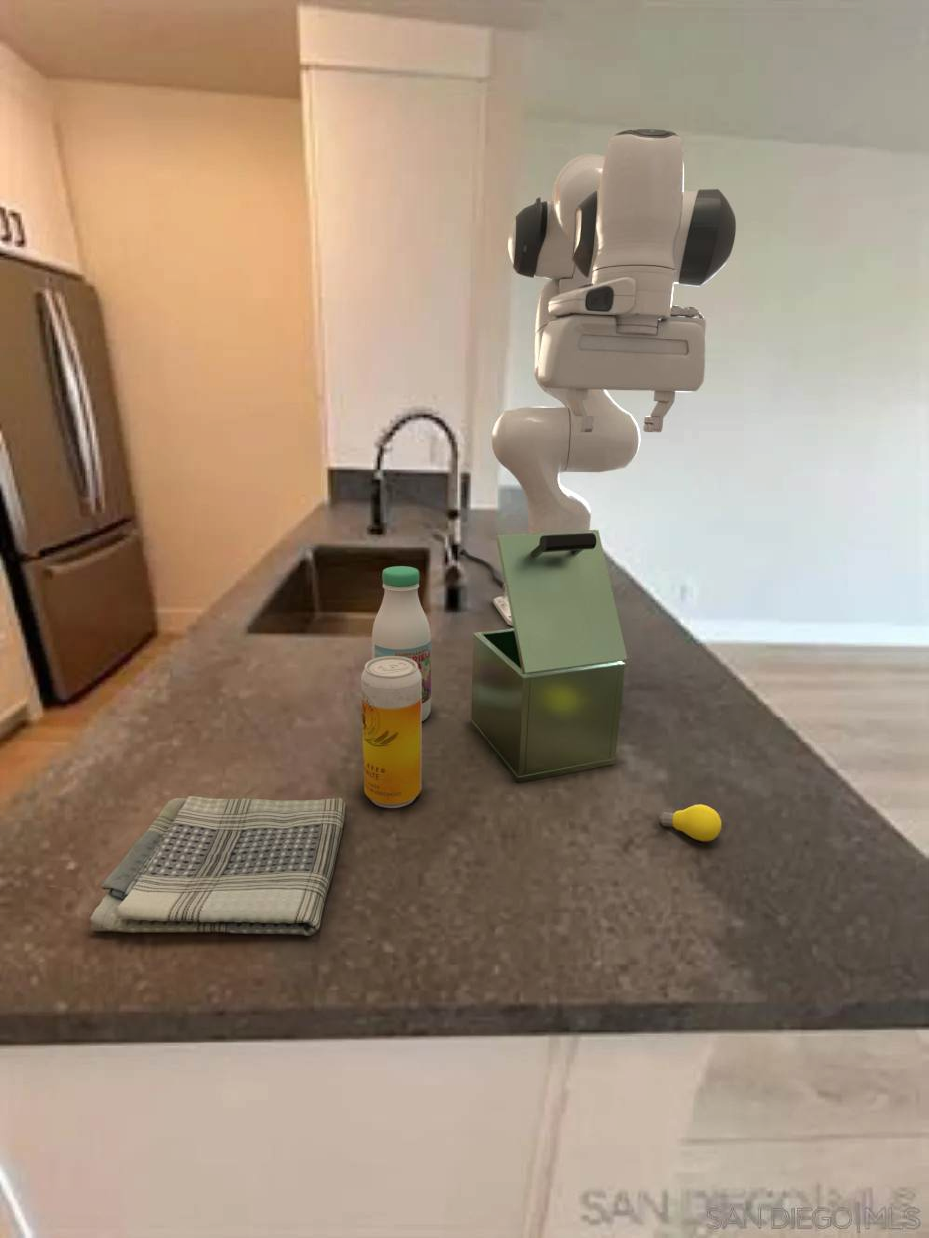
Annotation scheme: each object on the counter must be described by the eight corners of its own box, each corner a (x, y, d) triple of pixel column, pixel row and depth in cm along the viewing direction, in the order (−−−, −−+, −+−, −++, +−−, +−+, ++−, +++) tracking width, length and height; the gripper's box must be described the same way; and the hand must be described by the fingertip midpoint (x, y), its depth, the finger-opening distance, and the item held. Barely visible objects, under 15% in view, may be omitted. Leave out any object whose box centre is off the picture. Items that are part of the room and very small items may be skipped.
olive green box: (470, 724, 88) (473, 632, 84) (556, 711, 92) (562, 622, 88) (517, 783, 75) (523, 677, 71) (615, 764, 79) (625, 663, 75)
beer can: (358, 785, 74) (353, 658, 69) (410, 774, 76) (410, 651, 71) (373, 816, 69) (370, 681, 64) (429, 803, 71) (430, 672, 66)
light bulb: (721, 851, 64) (712, 824, 63) (660, 843, 68) (650, 818, 66) (728, 824, 67) (720, 798, 65) (669, 818, 70) (660, 793, 69)
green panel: (495, 537, 74) (513, 519, 70) (595, 532, 79) (617, 514, 74) (522, 674, 71) (542, 665, 66) (624, 660, 75) (649, 651, 71)
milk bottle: (361, 714, 90) (356, 569, 84) (403, 696, 95) (402, 559, 89) (399, 733, 85) (398, 581, 79) (442, 714, 91) (444, 570, 84)
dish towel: (350, 809, 70) (349, 782, 69) (319, 943, 53) (317, 910, 52) (169, 808, 69) (165, 781, 68) (78, 943, 52) (71, 910, 51)
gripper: (689, 311, 80) (675, 430, 85) (535, 299, 73) (528, 430, 78) (726, 305, 75) (708, 433, 79) (563, 292, 68) (554, 433, 72)
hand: (618, 432), depth 79 cm, fingers open, 8 cm apart
